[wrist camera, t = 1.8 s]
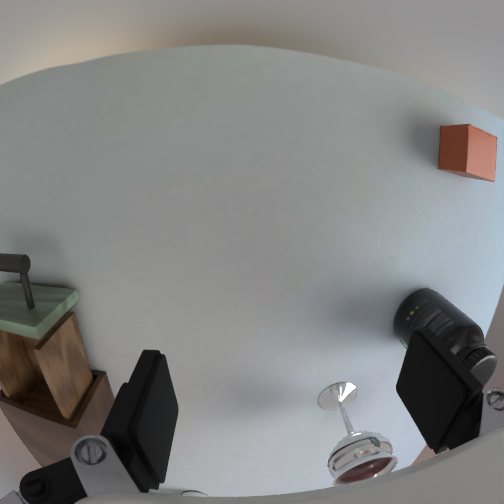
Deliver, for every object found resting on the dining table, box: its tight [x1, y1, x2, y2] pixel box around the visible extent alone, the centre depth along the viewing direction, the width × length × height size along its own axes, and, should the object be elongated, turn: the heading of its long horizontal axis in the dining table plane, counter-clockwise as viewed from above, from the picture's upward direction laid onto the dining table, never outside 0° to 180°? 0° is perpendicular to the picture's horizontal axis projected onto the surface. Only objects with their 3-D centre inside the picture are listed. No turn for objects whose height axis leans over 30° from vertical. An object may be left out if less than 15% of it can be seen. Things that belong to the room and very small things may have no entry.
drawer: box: [0, 253, 95, 422], centre depth 23 cm, size 20×11×8 cm, turn 178°
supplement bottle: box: [394, 290, 497, 386], centre depth 23 cm, size 7×7×12 cm
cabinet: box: [0, 369, 115, 467], centre depth 27 cm, size 16×13×10 cm
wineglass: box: [318, 383, 398, 487], centre depth 26 cm, size 7×7×12 cm
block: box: [438, 124, 497, 182], centre depth 21 cm, size 4×4×4 cm
